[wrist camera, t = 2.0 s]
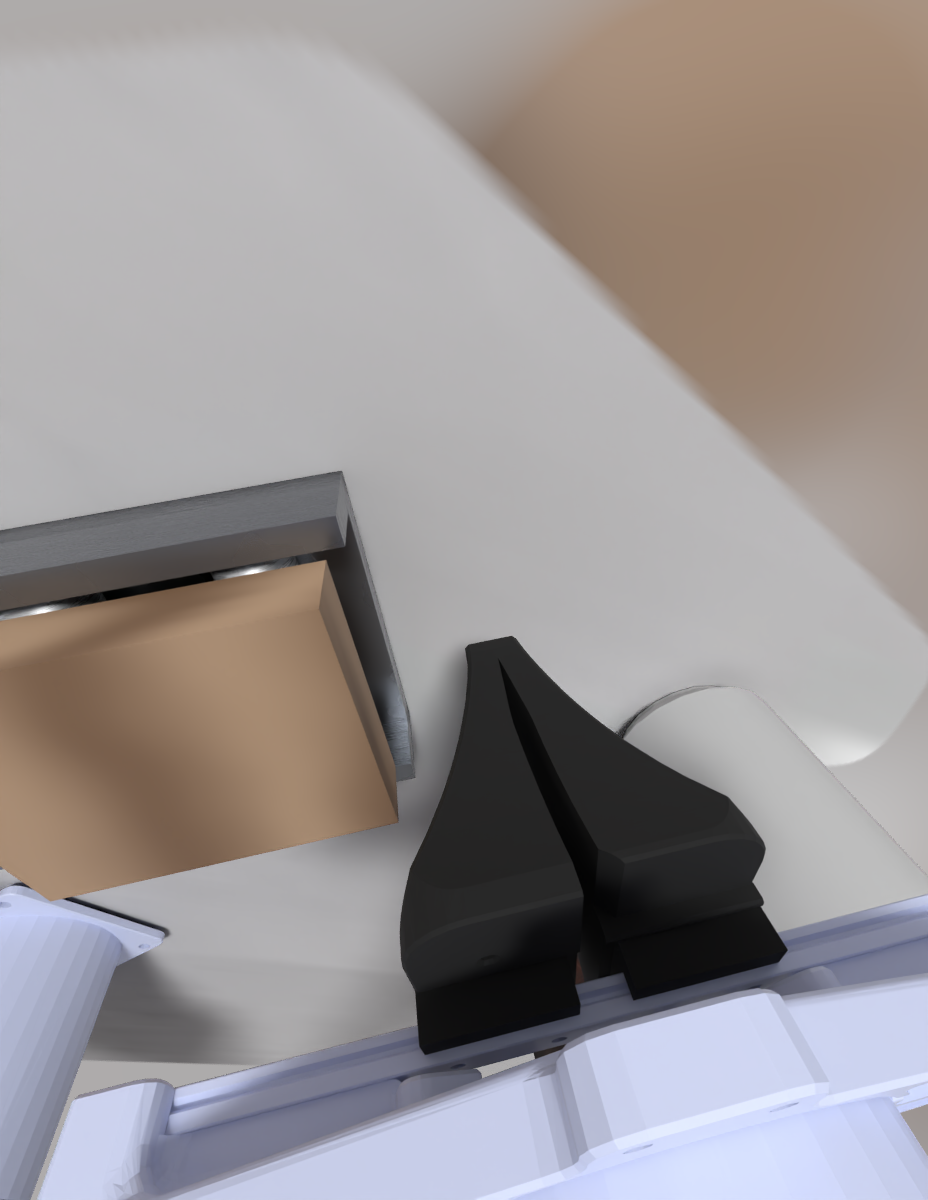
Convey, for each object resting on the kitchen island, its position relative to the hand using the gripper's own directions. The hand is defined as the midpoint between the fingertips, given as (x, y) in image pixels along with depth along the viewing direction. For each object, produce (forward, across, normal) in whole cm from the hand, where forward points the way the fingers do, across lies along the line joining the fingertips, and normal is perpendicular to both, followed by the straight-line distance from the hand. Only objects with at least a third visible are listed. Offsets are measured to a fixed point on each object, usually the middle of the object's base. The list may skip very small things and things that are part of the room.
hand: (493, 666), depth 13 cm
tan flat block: (0, +9, 0) cm, 9 cm away
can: (+4, -9, +10) cm, 14 cm away
